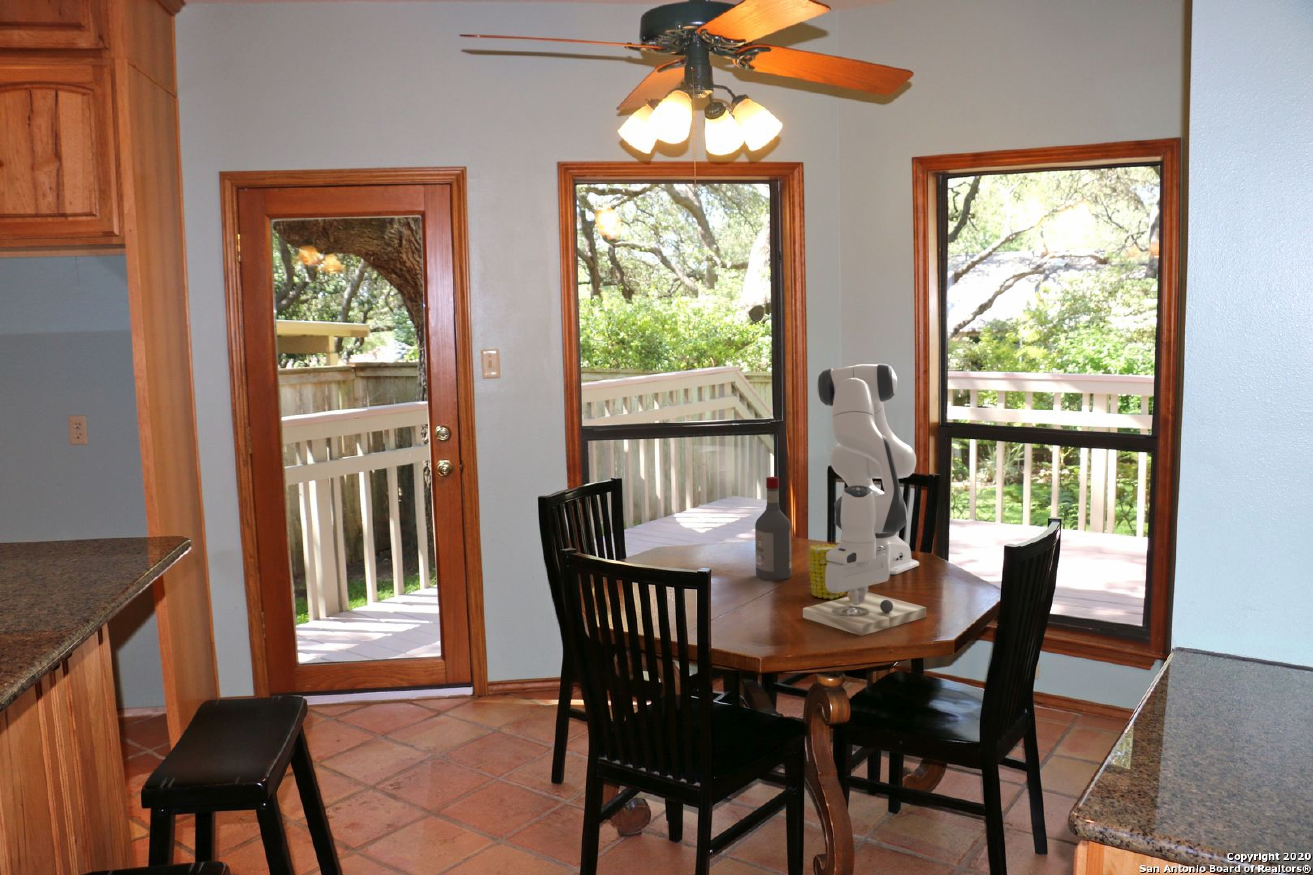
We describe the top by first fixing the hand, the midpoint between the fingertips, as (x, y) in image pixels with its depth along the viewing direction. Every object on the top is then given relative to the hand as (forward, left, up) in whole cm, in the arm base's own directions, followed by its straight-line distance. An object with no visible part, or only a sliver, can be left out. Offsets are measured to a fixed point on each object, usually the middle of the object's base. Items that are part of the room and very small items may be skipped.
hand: (858, 604), depth 257 cm
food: (-10, -21, -4) cm, 24 cm away
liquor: (-13, -46, -4) cm, 48 cm away
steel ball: (+2, 0, -2) cm, 3 cm away
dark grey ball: (-3, +6, 0) cm, 7 cm away
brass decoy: (-5, -7, 0) cm, 9 cm away
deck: (-2, 0, -4) cm, 5 cm away
